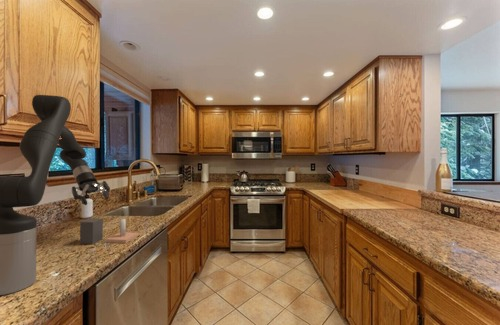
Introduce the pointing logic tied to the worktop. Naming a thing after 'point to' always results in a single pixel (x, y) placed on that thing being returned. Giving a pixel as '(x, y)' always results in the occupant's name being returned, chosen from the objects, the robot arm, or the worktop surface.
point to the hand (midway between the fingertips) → (97, 201)
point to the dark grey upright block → (91, 231)
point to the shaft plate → (121, 239)
